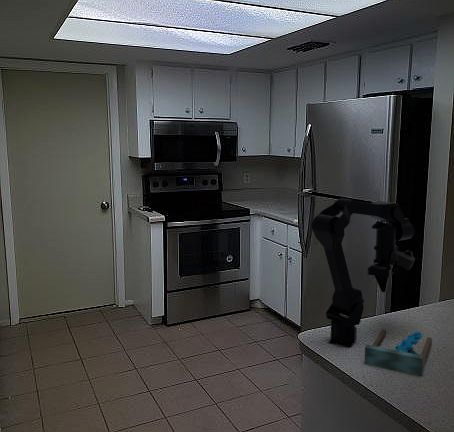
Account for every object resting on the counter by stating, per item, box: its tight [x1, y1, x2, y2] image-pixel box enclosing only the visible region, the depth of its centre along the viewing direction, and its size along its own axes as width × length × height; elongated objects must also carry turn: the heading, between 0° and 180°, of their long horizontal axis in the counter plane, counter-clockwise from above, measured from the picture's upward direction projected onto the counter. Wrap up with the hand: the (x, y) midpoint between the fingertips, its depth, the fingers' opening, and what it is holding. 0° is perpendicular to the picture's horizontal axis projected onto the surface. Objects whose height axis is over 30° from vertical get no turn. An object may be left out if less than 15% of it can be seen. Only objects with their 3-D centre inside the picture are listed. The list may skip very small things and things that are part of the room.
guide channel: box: [363, 328, 433, 377], centre depth 126 cm, size 14×22×4 cm, turn 150°
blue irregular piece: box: [394, 331, 423, 355], centre depth 123 cm, size 11×6×10 cm
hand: (383, 291), depth 143 cm, fingers closed
